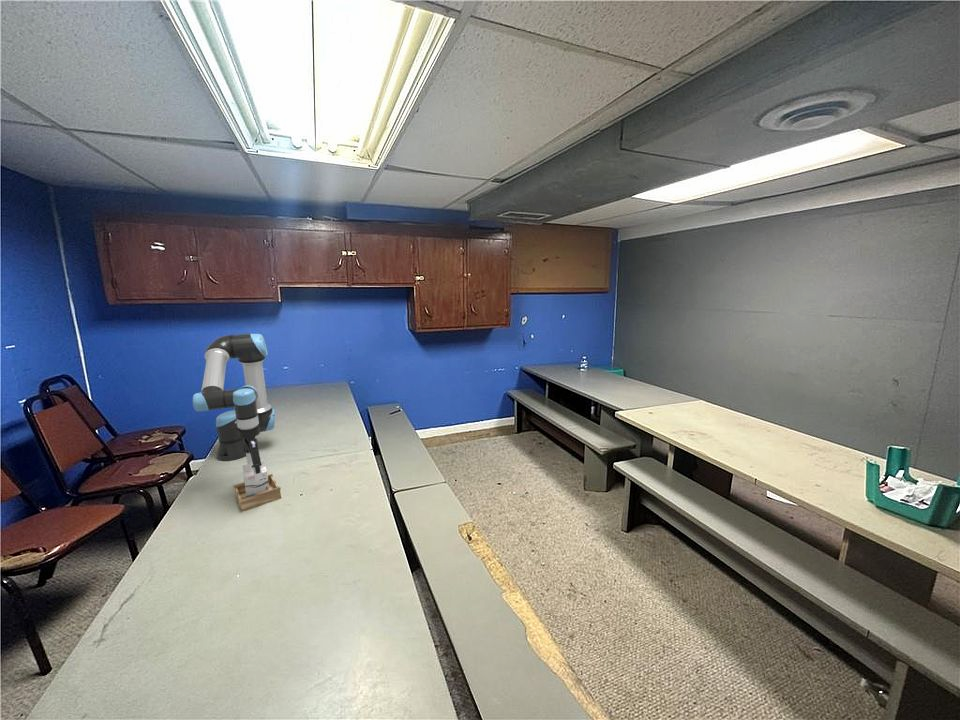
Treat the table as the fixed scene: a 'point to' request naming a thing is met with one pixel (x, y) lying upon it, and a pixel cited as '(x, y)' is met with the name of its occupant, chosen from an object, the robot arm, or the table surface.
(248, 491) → the ink box
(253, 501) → the crate
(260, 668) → the table surface
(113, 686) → the table surface
